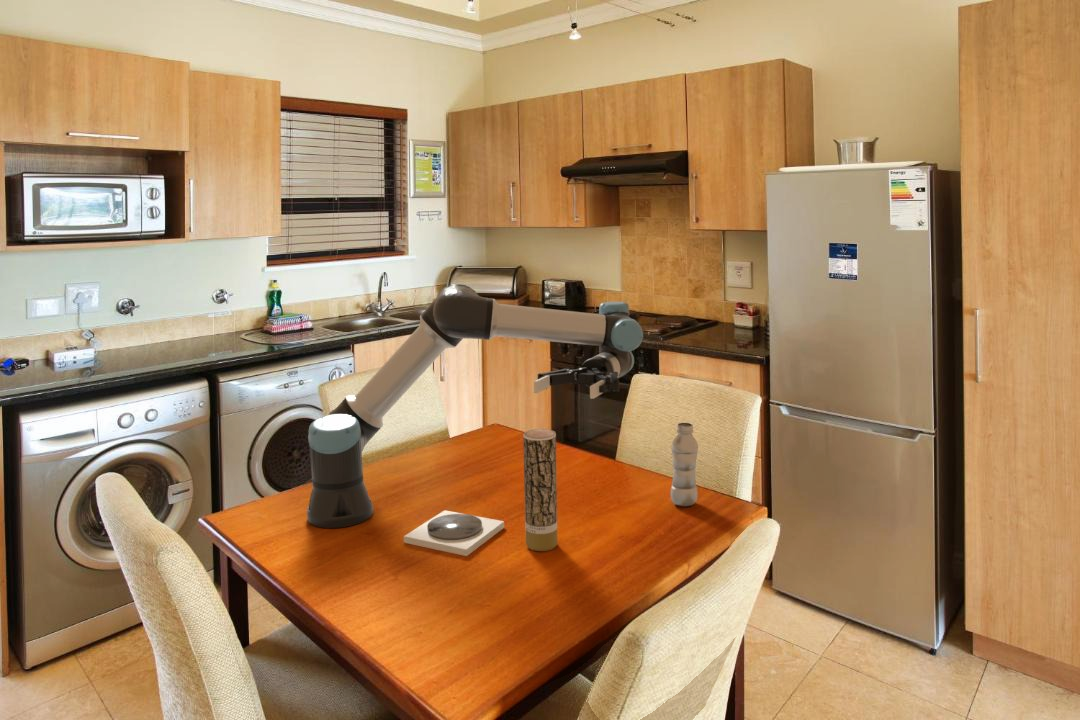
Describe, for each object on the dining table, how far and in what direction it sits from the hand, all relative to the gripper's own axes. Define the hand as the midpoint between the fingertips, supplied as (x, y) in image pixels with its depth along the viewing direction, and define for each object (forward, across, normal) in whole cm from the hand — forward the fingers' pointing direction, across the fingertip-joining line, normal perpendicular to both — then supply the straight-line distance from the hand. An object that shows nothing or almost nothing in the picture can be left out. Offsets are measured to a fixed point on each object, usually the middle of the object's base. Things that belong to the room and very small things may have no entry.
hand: (562, 389), depth 167 cm
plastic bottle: (-23, -21, -32) cm, 45 cm away
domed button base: (+15, +20, -32) cm, 40 cm away
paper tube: (+12, 0, -32) cm, 34 cm away
